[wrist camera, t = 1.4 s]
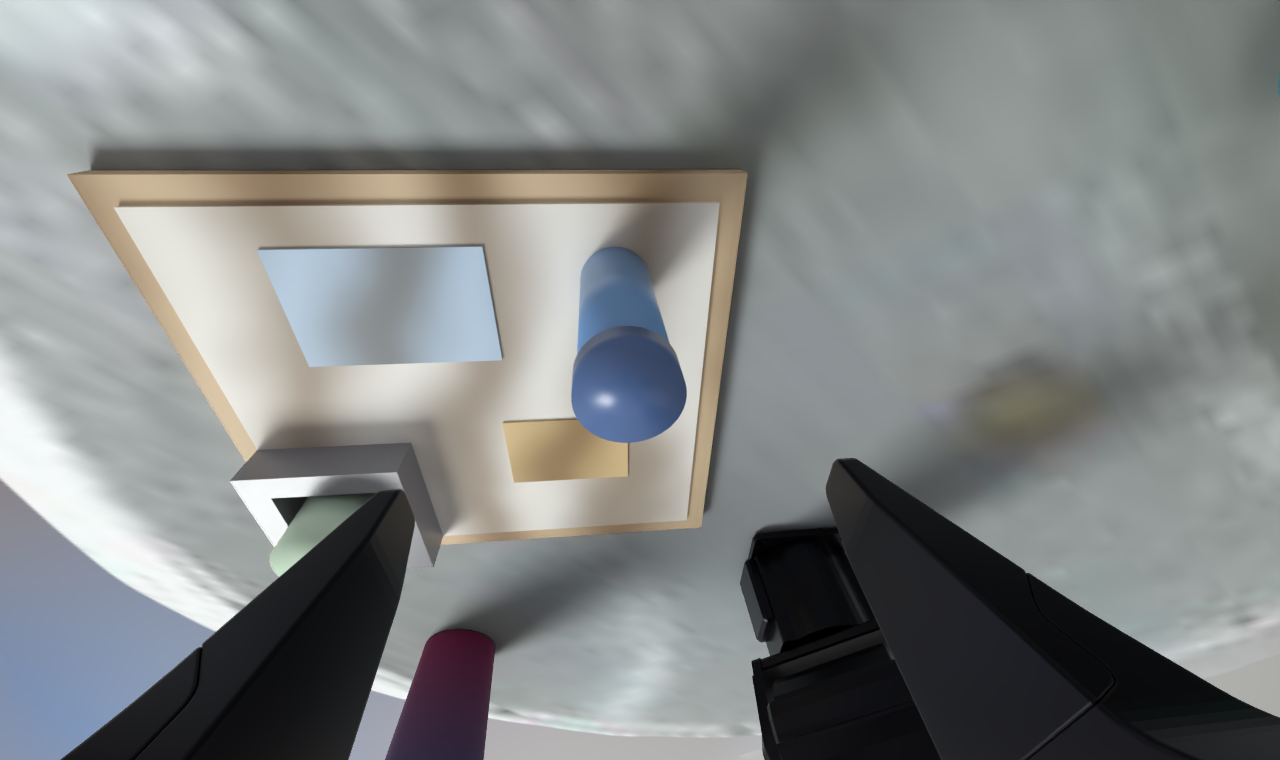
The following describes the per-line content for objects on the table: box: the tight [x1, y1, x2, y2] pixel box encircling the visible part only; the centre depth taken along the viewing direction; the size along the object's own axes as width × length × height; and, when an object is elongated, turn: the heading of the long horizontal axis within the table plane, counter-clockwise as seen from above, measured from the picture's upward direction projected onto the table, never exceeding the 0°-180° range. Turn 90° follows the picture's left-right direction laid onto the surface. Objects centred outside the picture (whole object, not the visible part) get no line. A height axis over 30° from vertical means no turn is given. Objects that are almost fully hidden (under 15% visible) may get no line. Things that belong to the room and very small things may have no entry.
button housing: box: [230, 443, 443, 569], centre depth 23 cm, size 7×7×2 cm
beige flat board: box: [68, 170, 748, 545], centre depth 22 cm, size 23×20×1 cm
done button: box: [269, 493, 375, 577], centre depth 22 cm, size 4×4×3 cm
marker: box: [571, 247, 687, 443], centre depth 15 cm, size 3×3×8 cm
